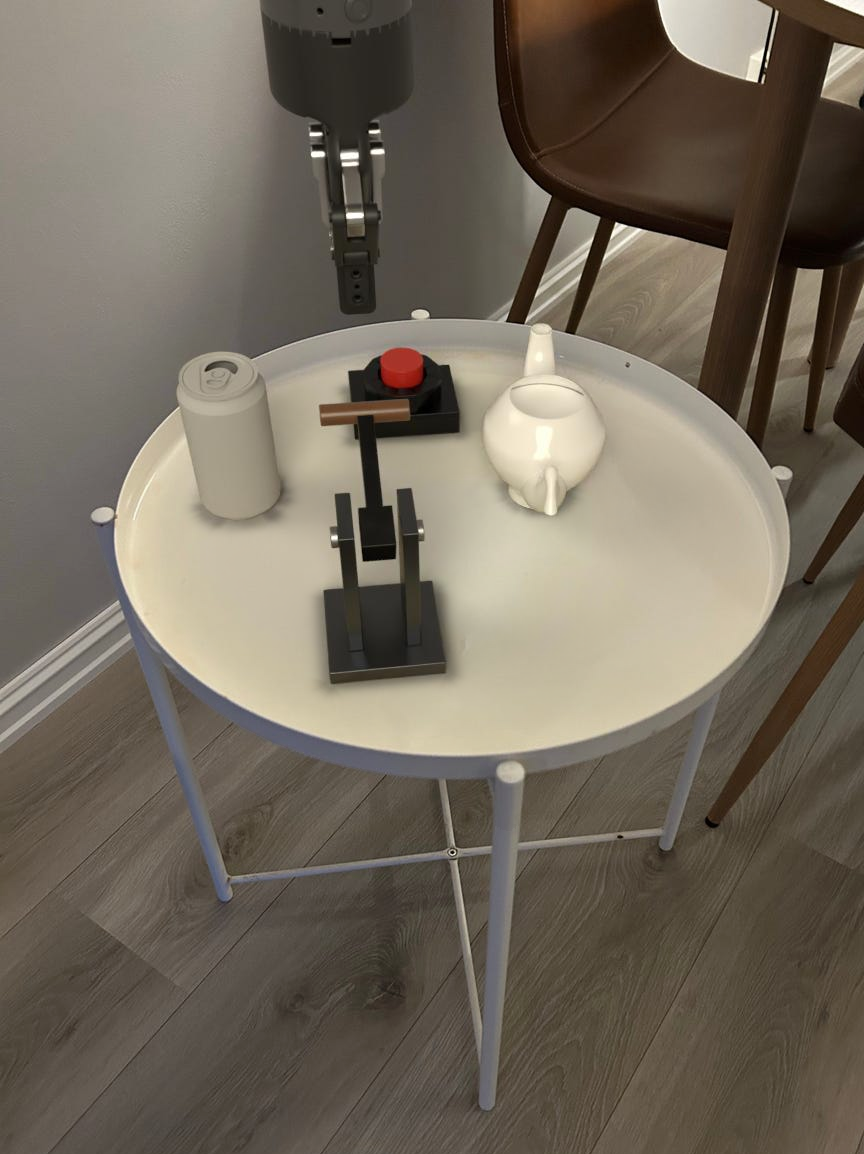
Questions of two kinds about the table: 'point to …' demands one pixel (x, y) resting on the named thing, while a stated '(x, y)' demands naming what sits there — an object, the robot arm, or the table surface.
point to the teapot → (543, 430)
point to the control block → (410, 400)
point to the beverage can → (229, 434)
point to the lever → (370, 470)
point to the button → (401, 368)
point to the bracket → (382, 608)
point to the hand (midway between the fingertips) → (357, 307)
